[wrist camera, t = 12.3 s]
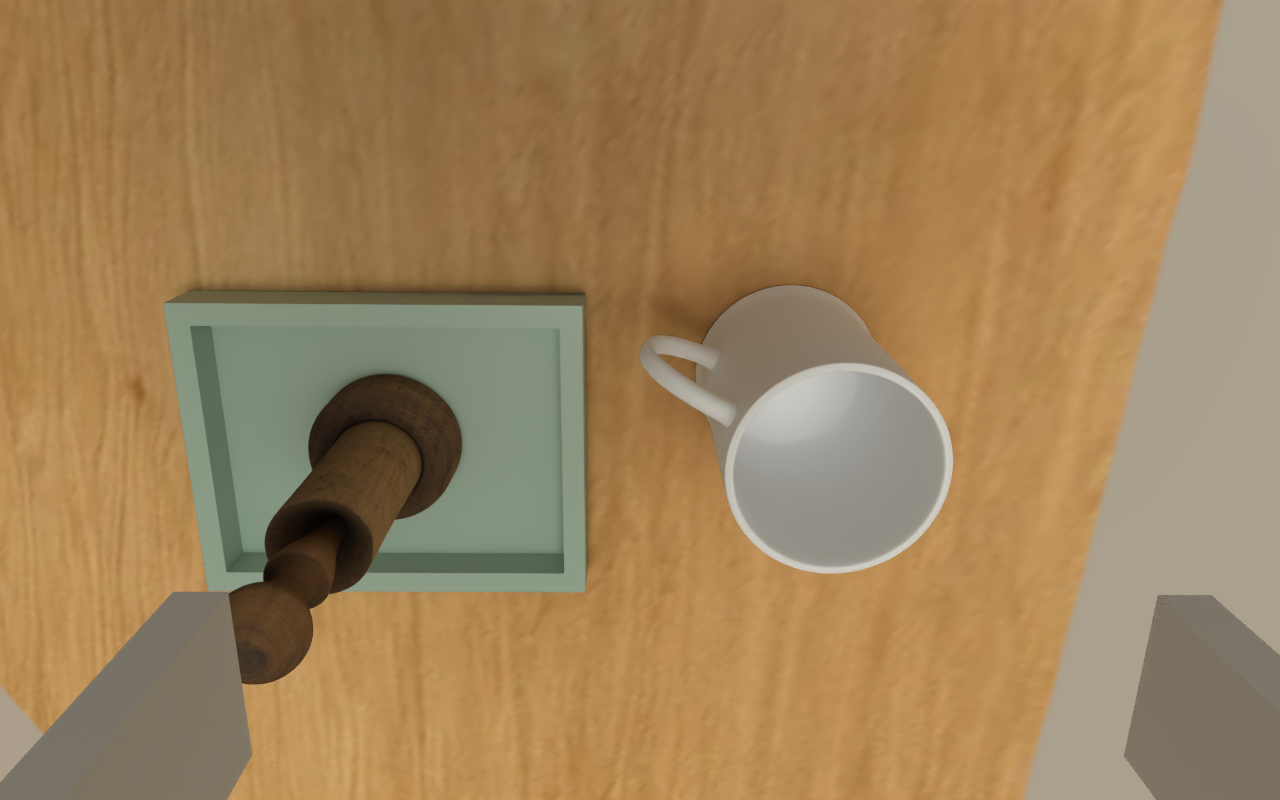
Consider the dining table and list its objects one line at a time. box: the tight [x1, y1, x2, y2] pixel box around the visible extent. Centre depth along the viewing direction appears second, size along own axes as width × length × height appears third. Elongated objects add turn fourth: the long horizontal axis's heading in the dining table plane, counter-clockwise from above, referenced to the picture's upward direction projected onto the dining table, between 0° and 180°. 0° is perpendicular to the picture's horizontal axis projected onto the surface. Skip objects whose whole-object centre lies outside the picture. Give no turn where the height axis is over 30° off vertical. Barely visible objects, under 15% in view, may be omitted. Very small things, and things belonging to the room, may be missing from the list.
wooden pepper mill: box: [229, 374, 462, 684], centre depth 36 cm, size 7×6×18 cm
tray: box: [163, 291, 588, 592], centre depth 44 cm, size 14×18×3 cm
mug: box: [639, 285, 953, 573], centre depth 38 cm, size 12×8×12 cm
